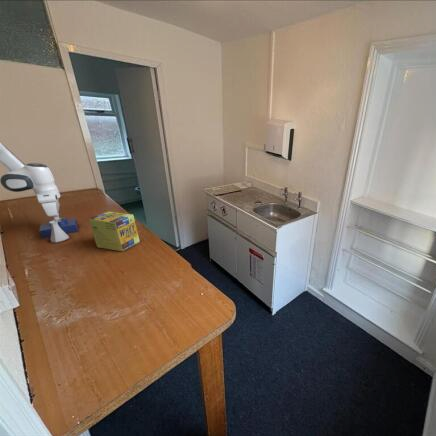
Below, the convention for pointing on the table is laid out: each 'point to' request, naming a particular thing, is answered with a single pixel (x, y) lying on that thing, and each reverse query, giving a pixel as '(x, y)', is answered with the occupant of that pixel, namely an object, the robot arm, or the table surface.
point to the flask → (57, 232)
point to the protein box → (114, 231)
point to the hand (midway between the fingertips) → (57, 218)
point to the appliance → (64, 224)
